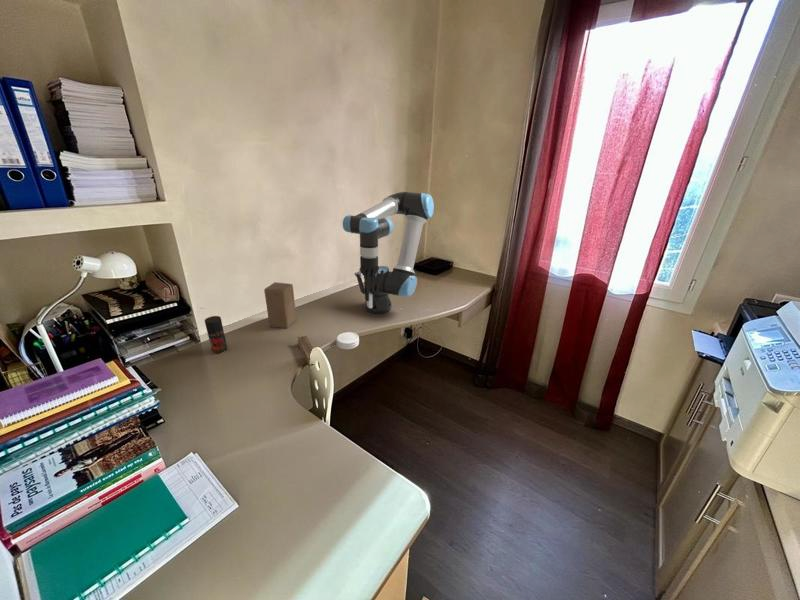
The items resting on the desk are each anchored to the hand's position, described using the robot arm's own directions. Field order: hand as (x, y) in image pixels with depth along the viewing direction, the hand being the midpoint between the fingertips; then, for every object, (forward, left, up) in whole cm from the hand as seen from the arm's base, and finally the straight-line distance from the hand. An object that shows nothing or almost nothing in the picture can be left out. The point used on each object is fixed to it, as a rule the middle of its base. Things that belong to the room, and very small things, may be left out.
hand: (369, 306), depth 150 cm
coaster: (+11, 0, -17) cm, 20 cm away
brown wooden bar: (+29, 0, -16) cm, 33 cm away
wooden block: (+33, -32, -16) cm, 49 cm away
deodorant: (+62, -19, -16) cm, 67 cm away
